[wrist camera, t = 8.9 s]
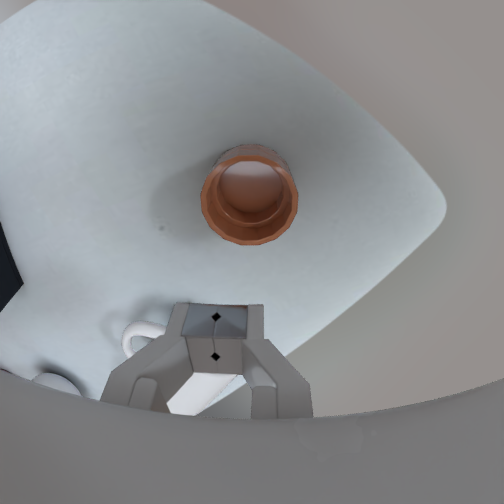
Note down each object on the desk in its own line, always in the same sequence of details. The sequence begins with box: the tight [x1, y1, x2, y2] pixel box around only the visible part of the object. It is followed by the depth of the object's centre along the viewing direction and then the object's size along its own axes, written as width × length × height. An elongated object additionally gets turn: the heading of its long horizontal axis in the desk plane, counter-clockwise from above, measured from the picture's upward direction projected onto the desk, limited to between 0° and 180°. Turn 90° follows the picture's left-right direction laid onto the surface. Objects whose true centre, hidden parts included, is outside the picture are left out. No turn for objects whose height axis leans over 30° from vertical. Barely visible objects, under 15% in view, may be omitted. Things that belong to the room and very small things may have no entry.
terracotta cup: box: [200, 145, 298, 245], centre depth 21 cm, size 6×6×4 cm
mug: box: [122, 321, 237, 416], centre depth 29 cm, size 12×10×8 cm
